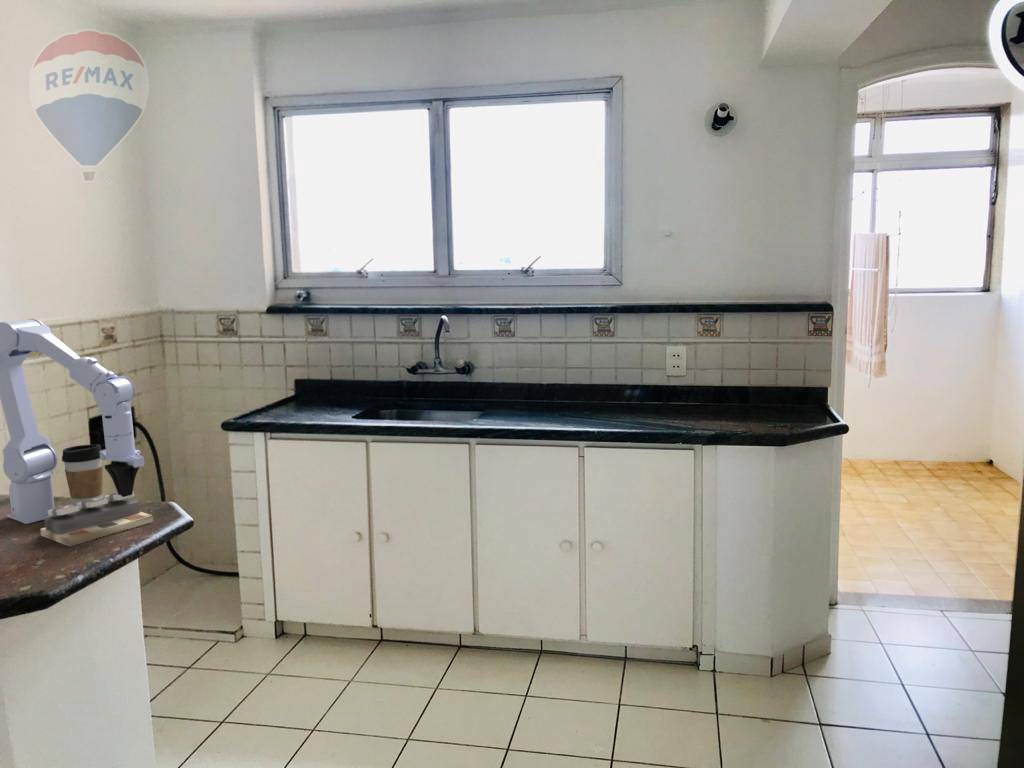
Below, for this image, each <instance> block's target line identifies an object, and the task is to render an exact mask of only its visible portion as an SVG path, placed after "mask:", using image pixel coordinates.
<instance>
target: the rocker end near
mask: <svg viewBox="0 0 1024 768" xmlns="http://www.w3.org/2000/svg"><path fill="white" fill-rule="evenodd" d="M76 511H80V510H79V506H74V505H73V504H72V503H70V504H67V505H62V506H59V507H55V508H54V509H52V510H48V515H53V516H54V517H58V516H62V515H66V514H69V513H73V512H76Z"/></svg>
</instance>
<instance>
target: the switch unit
mask: <svg viewBox="0 0 1024 768" xmlns="http://www.w3.org/2000/svg"><path fill="white" fill-rule="evenodd" d="M79 510H80V511H76V512H73V513H69V514H66V515H62V516H58V517H54V516H49V517H45V518H44V525H45V527H41V528H40V530H39V531H40V536H42V537H43V538H47V539H49V540H51V541H55V542H57V543H59V544H61V545H64V546H66V547H74V546H77V545H79V544H83V543H87V542H89V541H93V539H94V540H96V538H97V539H100V538H99V537H101V538H104V537H107V536H111V535H114V534H118V533H121V532H124V530H125V531H128V530H130V529H134V528H139V527H142V526H144V525H147V524H152V523H154V516H153V514H149V513H145V512H143V511H140V502H139V501H138V500H134V499H131V498H127V499H123V500H119V501H115V502H110V501H108V503H107V504H103V505H100V506H96V507H92V508H88V509H85V510H84V509H83V508H80V509H79ZM127 529H128V530H127ZM113 533H114V534H113ZM110 534H111V535H110ZM106 535H107V536H106ZM103 536H104V537H103ZM86 541H87V542H86Z"/></svg>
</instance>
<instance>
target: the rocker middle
mask: <svg viewBox="0 0 1024 768" xmlns="http://www.w3.org/2000/svg"><path fill="white" fill-rule="evenodd" d="M107 503H108V501H107V499H105V498H103V496H102V497H97V498H93V499H90V500H86V501H82V502H79V503H77V506H79V508H83V509H84V510H85V509H88V508H92V507H96V506H100V505H103V504H107Z"/></svg>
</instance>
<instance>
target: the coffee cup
mask: <svg viewBox="0 0 1024 768" xmlns="http://www.w3.org/2000/svg"><path fill="white" fill-rule="evenodd" d="M99 451H102V447H101V444H100V443H99V444H98V443H97V444H82V445H75V446H69V447H66V448H64V449H62V456H61V459H62V460H61V461H62V462H63V464H64V473H65V478H66V482H67V487H68V491H69V495H70V499H71V504H73V505H74V506H77V503H79V502H82V501H86V500H90V499H93V498H97V497H102V498H103V484H104V483H103V479H104V478H103V475H104V474H103V470H104V467H103V466H104V465H103V464H102V462H103V460H101V459H100V452H99ZM79 509H80V508H79Z"/></svg>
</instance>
